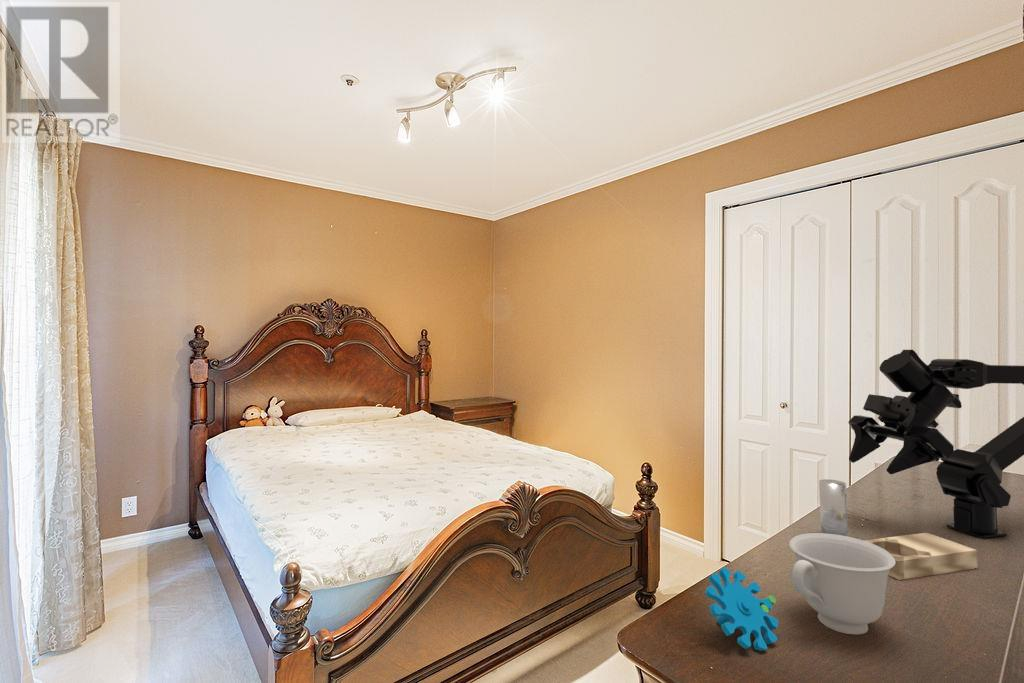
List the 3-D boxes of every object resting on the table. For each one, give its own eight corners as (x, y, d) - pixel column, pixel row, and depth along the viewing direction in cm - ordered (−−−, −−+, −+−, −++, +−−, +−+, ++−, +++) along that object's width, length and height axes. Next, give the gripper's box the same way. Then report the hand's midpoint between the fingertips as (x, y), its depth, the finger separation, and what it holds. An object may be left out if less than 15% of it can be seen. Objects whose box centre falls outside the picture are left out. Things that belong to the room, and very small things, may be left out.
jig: (927, 548, 88) (926, 532, 88) (977, 568, 80) (976, 550, 80) (854, 558, 85) (853, 541, 85) (898, 579, 77) (897, 561, 77)
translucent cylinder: (834, 534, 96) (832, 478, 97) (854, 542, 92) (851, 484, 92) (815, 536, 95) (813, 480, 96) (834, 545, 91) (832, 486, 91)
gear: (736, 651, 58) (698, 567, 65) (708, 667, 62) (675, 585, 69) (802, 642, 62) (760, 563, 69) (772, 657, 65) (735, 581, 72)
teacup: (757, 616, 68) (755, 545, 68) (827, 592, 74) (824, 527, 74) (845, 667, 57) (842, 582, 57) (919, 634, 63) (916, 557, 63)
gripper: (855, 377, 104) (807, 430, 103) (936, 383, 86) (879, 447, 85) (891, 413, 105) (843, 466, 104) (979, 427, 86) (923, 491, 85)
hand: (868, 466), depth 94 cm, fingers open, 9 cm apart
